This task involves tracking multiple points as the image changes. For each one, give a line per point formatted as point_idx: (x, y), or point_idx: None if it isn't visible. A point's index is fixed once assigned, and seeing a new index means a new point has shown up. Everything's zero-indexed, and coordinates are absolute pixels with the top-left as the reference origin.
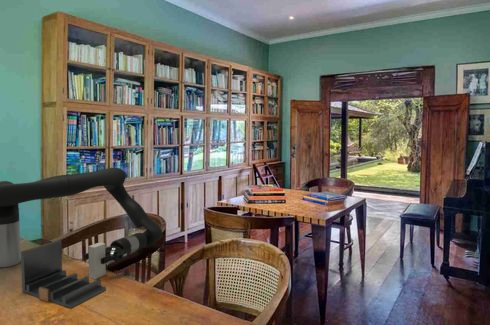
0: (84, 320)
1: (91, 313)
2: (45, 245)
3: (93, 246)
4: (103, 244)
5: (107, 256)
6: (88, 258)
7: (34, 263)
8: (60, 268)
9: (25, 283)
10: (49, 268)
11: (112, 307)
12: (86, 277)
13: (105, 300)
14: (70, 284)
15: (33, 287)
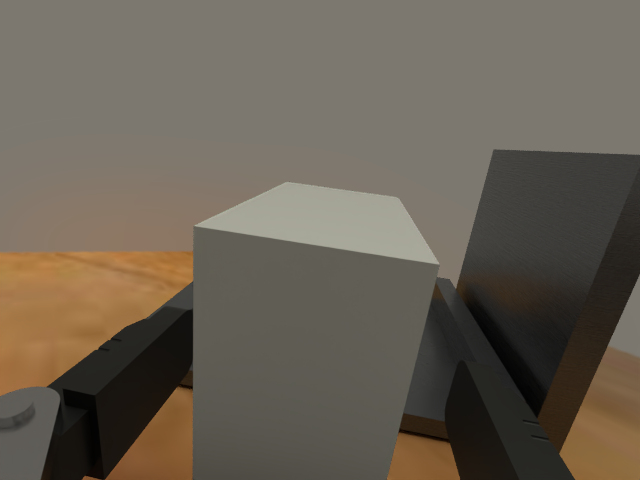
0: (147, 251)
1: (135, 265)
2: (551, 152)
3: (330, 192)
4: (220, 216)
5: (107, 354)
6: (456, 447)
7: (492, 223)
8: (540, 383)
9: (460, 279)
10: (510, 308)
11: (54, 285)
12: None
13: (93, 310)
14: None
15: (433, 297)
